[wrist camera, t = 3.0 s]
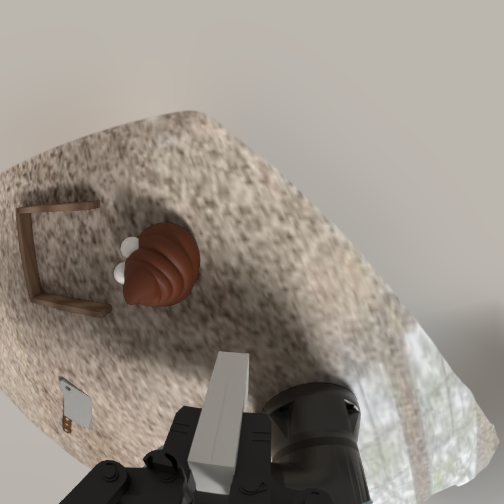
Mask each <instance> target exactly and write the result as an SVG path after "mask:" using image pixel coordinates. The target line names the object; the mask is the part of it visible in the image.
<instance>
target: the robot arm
mask: <svg viewBox="0 0 504 504" xmlns="http://www.w3.org/2000/svg"><path fill="white" fill-rule="evenodd" d="M248 378H249V354H248V353H234V352H222V351H219V352H218V356H217V359H216V363H215V366H214V370H213V373H212V376H211V380H210V383H209V387H208V390H207V394H206V397H205V401H204V404H203V408H195V407H188V406H183V407H182V408H181V409H180V410H179V411H178V412H177V413H176V415H175V417H174V420H173V424H172V425H171V428H170V431H169V433H168V436H167V439H166V441H165V444H164V445H163V446H161V447H159V448H158V449H157V450H154V451H151V452H149V453H148V454H146V456H145V457H144V458H143V461H144V462H145V466H144V467H143V468H128V467H124V466H122V465H121V464H120V463H118V462H116V461H113V460H105V461H102V462H100V463H98V464H97V465H96V466H95V467H94V468H93V469H92V470H91V471H90V472H89V473H88V474H87V475H86V476H85V477H84V479H83V480H82V481H81V482H80V483H79V484H78V485H77V486H76V487H75V488H74V489H73V490H72V491H71V492H70V493H69V494H68V495H67V496H66V497H65V498H64V499H63V500H62V501H61V502H60V503H59V504H372V503H373V502H372V500H371V499H370V495H369V490H368V486H367V482H366V478H365V474H364V470H363V466H362V462H361V458H360V454H359V450H358V446H357V441H358V434H359V426H360V418H361V413H360V408H359V405H358V402H357V399H356V397H355V396H354V394H353V393H352V392H351V391H349V390H348V389H346V388H344V387H342V386H339V385H335V384H328V383H312V384H305V385H301V386H297V387H294V388H291V389H288V390H286V391H284V392H282V393H280V394H278V395H277V396H275V397H274V398H273V399H271V400H270V401H269V402H268V403H267V405H266V406H265V407H264V409H263V412H262V413H246V406H247V397H248ZM271 456H272V462H271Z"/></svg>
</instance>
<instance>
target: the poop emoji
mask: <svg viewBox="0 0 504 504" xmlns="http://www.w3.org/2000/svg"><path fill="white" fill-rule="evenodd" d="M120 248H121V253H122V254H123V256H124V257H126V258H127V259H126V262H122V263H120V264H117V265H116V266H115V268H114V271H113V272H114V277H115V279H116V280H117V281H118V282H119V283H121V284H123V294H124V298H125V300H126V302H127V303H128V304H129V305H134V304H136V303H140V304H142V305H145V306H171V305H174V304H177V303H179V302H180V301H182V300H183V299H185V298H186V297H187V296H188V294H189V293H190V292H191V290H192V288H193V286H194V283H195V281H196V278H197V276H198V272H199V267H200V254H199V249H198V246H197V244H196V242H195V240H194V238H193V237H192V235H191V234H190V233H189V232H188V231H187V230H185V229H184V228H182V227H181V226H179V225H176V224H173V223H158V224H155V225H153V226H151V227H149V228H147V229H146V230H144V231H143V232H142V233H141V234H140V235H139V236H138V237H137V238H136V237H128V238H126V239H124V240H123V241H122V243H121V245H120Z"/></svg>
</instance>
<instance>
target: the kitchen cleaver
mask: <svg viewBox="0 0 504 504" xmlns="http://www.w3.org/2000/svg"><path fill="white" fill-rule="evenodd" d="M59 384H60V386H61V389H62V393H63V398H64V418H63V430H64V431H65V432H66V433H71V429H70V428H71V422H72V421H74V422H76V423H77V424H79V425H81V426H83V427H85V428H87V429H89V430H91V422H92V399H91V397H90V396H88V395H87V394H85V393H84V392H82V391H81V390H79V389H78V388H76V387H75V386H74V385H72V384H71V383H69V382H68V381H67V380H65V379H60V381H59ZM67 386H68V387H69V388H70V389H69V388H68V387H67Z"/></svg>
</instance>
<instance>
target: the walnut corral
mask: <svg viewBox="0 0 504 504" xmlns="http://www.w3.org/2000/svg"><path fill="white" fill-rule="evenodd" d="M99 207H100V201H87V202H70V203H57V204H44V205H33V206H25V207H20V208H16V220H17V230H18V239H19V246H20V253H21V259H22V265H23V270H24V275H25V280H26V285H27V289H28V293H29V298H30V301H31V302H33V303H37V304H40V305H44V306H48V307H53V308H57V309H61V310H66V311H70V312H75V313H79V314H84V315H89V316H94V317H100V318H104V317H105V316H106V315H107V314H108V313H109V312H110V311H111V310H112V308H111V305H110V304H104V303H97V302H91V301H85V300H80V299H74V298H69V297H63V296H58V295H53V294H48V293H43V292H42V288H41V283H40V278H39V273H38V268H37V262H36V256H35V249H34V241H33V233H32V223H31V213H37V212H54V211H74V210H90V209H95V208H99Z"/></svg>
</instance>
